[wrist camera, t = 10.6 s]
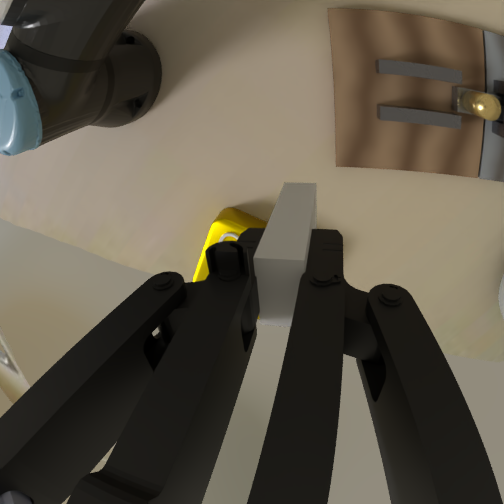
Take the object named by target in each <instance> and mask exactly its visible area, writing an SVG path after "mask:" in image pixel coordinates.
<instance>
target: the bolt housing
mask: <svg viewBox="0 0 504 504" xmlns="http://www.w3.org/2000/svg"><path fill="white" fill-rule="evenodd" d="M375 67H376V73H380V74H392V75H402V76H410V77H418V78H426V79H432V80H439V81H445V82H451V83H457V84H462V71H459V70H454V69H449V68H444V67H438V66H432V65H425V64H418V63H411V62H402V61H393V60H382V59H378V60H375ZM493 92H496V93H500V94H504V81H498V80H494V89H493ZM377 118H378V119H379V120H384V121H396V122H407V123H417V124H425V125H434V126H441V127H448V128H455V129H461V119H462V116H460V115H458V114H455V113H452V112H445V111H439V110H431V109H424V108H415V107H406V106H396V105H384V104H377ZM492 133H494V134H496V135H498V136H500V137H502V138H504V117H503V122H498V121H492Z"/></svg>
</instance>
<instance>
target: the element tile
mask: <svg viewBox="0 0 504 504" xmlns="http://www.w3.org/2000/svg"><path fill="white" fill-rule="evenodd" d="M267 224H268V223H267V222H265V221H262V220H260V219H258V218H256V217H254V216H251V215H249V214H247V213H245V212H243V211H240V210H238V209H235V208H225V209H223V210H222V211H221V212H220V214H219V215H218V216H217V218H216V219H215V220H214V222H213V223H212V225H211V227H210V230H209V233H208V236H207V239H206V242H205V244H204V247H203V250H202V253H201V256H200V259H199V262H198V265H197V268H196V271H195V274H194V277H193V282H196V281H202V280H205V279H206V278H207V276H208V274H209V270H208V265H207V260H206V255H205V250H206V249H207V248H208V247H209V246H211V245H213V244H215V243H218V242H222V241H237V240H238V238H239V236H240V234H241V233H242V232H244V231H245V230H247V229H248V228H266V226H267ZM258 319H259V320H260V318H259V316H258Z"/></svg>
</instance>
